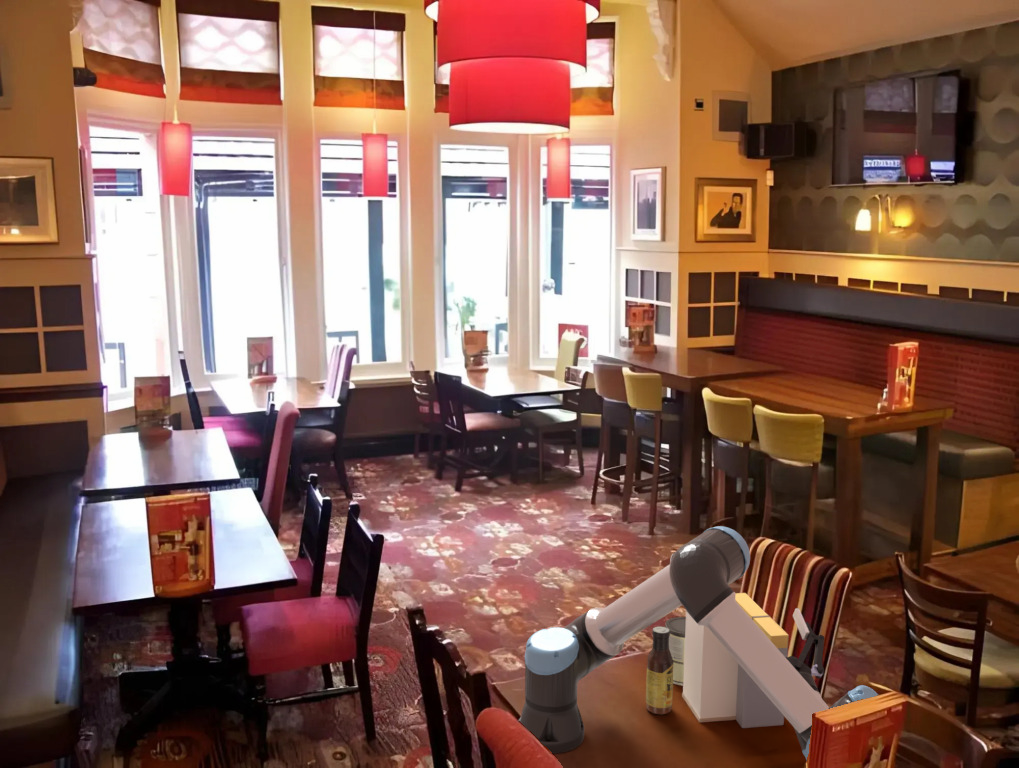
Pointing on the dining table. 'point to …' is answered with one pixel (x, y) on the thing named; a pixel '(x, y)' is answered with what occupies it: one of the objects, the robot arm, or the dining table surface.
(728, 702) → the cream pillar
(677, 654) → the coffee can
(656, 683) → the sauce bottle
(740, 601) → the yellow long bar
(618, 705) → the dining table surface
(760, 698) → the grey upright block
